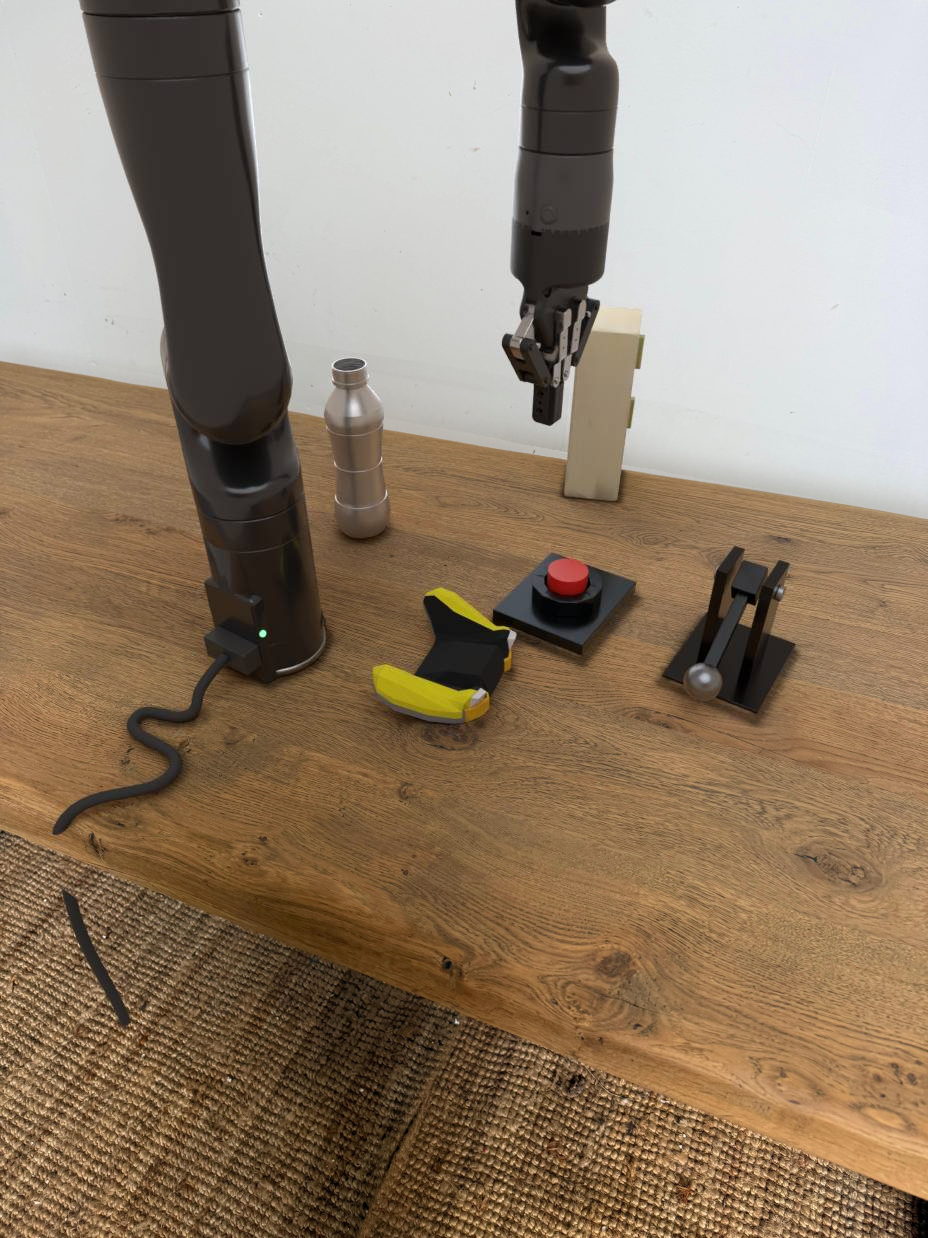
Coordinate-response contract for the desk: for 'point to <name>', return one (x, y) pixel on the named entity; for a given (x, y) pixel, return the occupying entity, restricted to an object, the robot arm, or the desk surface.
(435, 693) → the gaming controller
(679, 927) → the desk surface
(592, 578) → the control box
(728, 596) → the switch bracket
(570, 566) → the button
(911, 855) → the desk surface
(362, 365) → the silver metal bottle
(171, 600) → the desk surface
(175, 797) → the desk surface
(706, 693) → the switch lever
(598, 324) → the toy refrigerator
